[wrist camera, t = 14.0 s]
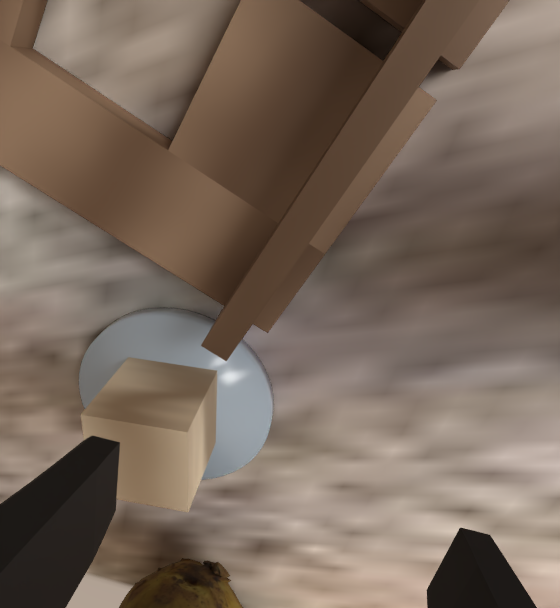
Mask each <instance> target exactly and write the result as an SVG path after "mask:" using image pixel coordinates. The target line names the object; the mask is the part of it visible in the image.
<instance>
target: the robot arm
mask: <svg viewBox="0 0 560 608" xmlns="http://www.w3.org/2000/svg"><path fill="white" fill-rule="evenodd" d="M119 452H120V442H117V441H113V440H109V439H105V438H101V437H97V436H93V435H92V436H90V437H88V438H86V439H85V440H84V441H83V442H81V443H80V444H79V445H78V446H76V447H75V448H74V449H73V450H71V451H70V452H69V453H68V454H66V455H65V456H64V457H63V458H61V459H60V460H59V461H57V462H56V463H55V464H54V465H52V466H51V467H50V468H48V469H47V470H46V471H45V472H43V473H42V474H41V475H39V476H38V477H37V478H35V479H34V480H33V481H31V482H30V483H29V484H27V485H26V486H25V487H23V488H22V489H21V490H19V491H18V492H16V493H15V494H14V495H12V496H11V497H10V498H8V499H7V500H5V501H4V502H3V503H1V504H0V608H65V607H66V606H67V604H68V602H69V601H70V599H71V597H72V596H73V594H74V592H75V590H76V589H77V587H78V585H79V584H80V582H81V580H82V578H83V577H84V575H85V573H86V571H87V570H88V568H89V566H90V564H91V563H92V561H93V559H94V557H95V555H96V553H97V551H98V548H99V546H100V544H101V542H102V540H103V538H104V535H105V533H106V531H107V529H108V526H109V524H110V522H111V520H112V517H113V515H114V513H115V511H116V496H117V481H118V467H119ZM427 605H428V608H537V607H536V606H535V604H534V602H533V601H532V599H531V598H530V596H529V595H528V593H527V592H526V590H525V589H524V587H523V585H522V584H521V582H520V581H519V579H518V578H517V576H516V575H515V573H514V571H513V570H512V568H511V567H510V565H509V564H508V562H507V560H506V559H505V557H504V556H503V554H502V553H501V551H500V550H499V548H498V547H497V545H496V543H495V542H494V540H493V539H492V537H491V536H490V535H488V534H484V533H480V532H476V531H472V530H468V529H464V528H460V529H459V531H458V533H457V535H456V536H455V538H454V540H453V542H452V544H451V546H450V548H449V550H448V551H447V553H446V555H445V557H444V559H443V561H442V563H441V564H440V566H439V568H438V570H437V572H436V574H435V576H434V578H433V579H432V581H431V583H430V585H429V587H428V589H427Z"/></svg>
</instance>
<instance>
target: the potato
mask: <svg viewBox="0 0 560 608" xmlns="http://www.w3.org/2000/svg"><path fill="white" fill-rule="evenodd" d="M203 563H204V565H203V564H201V563H200V562H198V561H195V560H191V559H183V558H182V560H181V561H180V562H177V563H174V564H171V565H169V566H166V567H164V568H158V570H157V571H156V572H154V573H152V574H150V575H148V576H147V577H145V578H143V579H141V580H140V581H139V582H138V583H135V585H134V586H133V588H132V589H131V590H130V591H129V593H128V594H127V595H126V597H125V598H124V600H123V601H122V603H121V605H120V607H119V608H243V607H242V605H241V604H240V602H239V601H238V599H237V597H236V595H235V593H234V592H233V590H232V589H231V587H230V586H229V584H228V582H230V581H231V580H229V579H228V578H227V577H229V576H230V575H229V574H228V572H227V571H226V569H225V568H224V567H223V566H222V565H221V564H220V563H219V562H216V563H213V562H210V561H204V562H203Z"/></svg>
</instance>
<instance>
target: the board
mask: <svg viewBox="0 0 560 608" xmlns="http://www.w3.org/2000/svg"><path fill="white" fill-rule="evenodd" d="M359 1H360V2H361V3H363V4H364V5H366V6H367V7H368V8H370V9H371V10H372V11H374V12H375V13H376V14H378V15H379V16H380V17H382V18H383V19H384V20H386V21H387V22H389V23H390V24H391V25H393V26H394V27H395V28H397V29H398V30H399V31H401V32H402V33H401V35H400V36H399V38H398V39H397V41H396V43H395V44H394V46H393V47H392V49H391V50H390V52H389V53H388V55H387V56H386V58H385V59H384V61H382V60H381V59H380V58H378V57H377V56H375V55H374V54H373V53H371V52H370V51H369V50H367V49H366V48H364V47H363V46H362V45H360V44H359V43H358V42H356V41H355V40H353V39H352V38H351V37H349V36H348V35H347V34H345V33H344V32H342V31H341V30H340V29H338V28H337V27H336V26H334V25H333V24H331V23H330V22H329V21H327V20H326V19H325V18H323V17H322V16H320V15H319V14H318V13H316V12H315V11H314V10H312V9H311V8H309V7H308V6H307V5H305V4H304V3H303V2H301V1H300V0H241V1H240V3H239V5H238V7H237V10H236V12H235V14H234V16H233V18H232V20H231V22H230V24H229V26H228V28H227V30H226V32H225V34H224V36H223V38H222V40H221V42H220V45H219V47H218V49H217V51H216V53H215V55H214V57H213V59H212V61H211V63H210V65H209V67H208V69H207V71H206V73H205V75H204V77H203V80H202V82H201V84H200V86H199V88H198V90H197V92H196V94H195V96H194V98H193V100H192V102H191V104H190V106H189V108H188V110H187V112H186V115H185V117H184V119H183V121H182V123H181V125H180V127H179V129H178V131H177V133H176V135H175V137H174V139H173V141H171V140H170V139H168V138H167V137H165V136H164V135H162V134H161V133H159V132H158V131H156V130H155V129H153V128H152V127H150V126H149V125H147V124H146V123H144V122H143V121H141V120H140V119H138V118H137V117H135V116H134V115H132V114H131V113H129V112H128V111H126V110H125V109H123V108H122V107H120V106H119V105H117V104H116V103H114V102H113V101H111V100H110V99H108V98H107V97H105V96H104V95H102V94H101V93H99V92H98V91H96V90H94V89H93V88H91V87H90V86H88V85H87V84H85V83H84V82H82V81H81V80H79V79H78V78H76V77H75V76H73V75H72V74H70V73H69V72H67V71H66V70H64V69H63V68H61V67H60V66H58V65H57V64H55V63H54V62H52V61H51V60H49V59H48V58H46V57H45V56H43V55H42V54H40V53H39V52H37V51H36V50H34V49H33V45H34V42H35V39H36V36H37V32H38V29H39V26H40V23H41V19H42V16H43V13H44V10H45V7H46V3H47V0H0V166H2V167H4V168H5V169H7V170H8V171H10V172H12V173H13V174H15V175H16V176H18V177H20V178H21V179H23V180H24V181H26V182H28V183H29V184H31V185H32V186H34V187H36V188H37V189H39V190H40V191H42V192H43V193H45V194H47V195H48V196H50V197H51V198H53V199H55V200H56V201H58V202H59V203H61V204H63V205H64V206H66V207H67V208H69V209H71V210H72V211H74V212H75V213H77V214H79V215H80V216H82V217H83V218H85V219H87V220H88V221H90V222H91V223H93V224H95V225H96V226H98V227H99V228H101V229H102V230H104V231H106V232H107V233H109V234H110V235H112V236H114V237H115V238H117V239H118V240H120V241H122V242H123V243H125V244H126V245H128V246H130V247H131V248H133V249H134V250H136V251H138V252H139V253H141V254H142V255H144V256H146V257H147V258H149V259H150V260H152V261H154V262H155V263H157V264H158V265H160V266H161V267H163V268H165V269H166V270H168V271H169V272H171V273H173V274H174V275H176V276H177V277H179V278H181V279H182V280H184V281H185V282H187V283H189V284H190V285H192V286H193V287H195V288H197V289H198V290H200V291H201V292H203V293H205V294H206V295H208V296H209V297H211V298H213V299H214V300H216V301H217V302H219V303H220V304H222V305H224V307H223V309H222V311H221V312H220V314H219V316H218V317H217V319H216V321H215V323H214V324H213V326H212V328H211V329H210V331H209V333H208V334H207V336H206V338H205V339H204V341H203V343H202V344H201V346H202V347H204V348H205V349H207V350H208V351H210V352H212V353H213V354H215V355H217V356H218V357H220V358H222V359H223V360H225V361H227V360H228V358H229V357H230V356H231V354H232V353H233V351H234V350H235V348H236V347H237V346H238V344H239V343H240V341H241V340H242V338H243V337H244V336H245V334H246V333H247V331H248V330H249V328H250V327H251V326H252V324H254V325H256V326H257V327H259V328H260V329H262V330H264V331H265V332H267V333H268V332H269V330H270V329H271V328H272V326H273V325H274V323H275V322H276V321H277V319H278V318H279V317H280V315H281V314H282V312H283V311H284V310H285V308H286V307H287V306H288V304H289V303H290V301H291V300H292V299H293V297H294V296H295V295H296V293H297V292H298V290H299V289H300V288H301V286H302V285H303V284H304V282H305V281H306V279H307V278H308V277H309V275H310V274H311V273H312V271H313V270H314V268H315V267H316V266H317V264H318V263H319V262H320V260H321V259H322V257H323V256H324V255H325V253H326V252H327V251H328V249H329V248H330V246H331V245H332V244H333V242H334V241H335V240H336V238H337V237H338V236H339V234H340V233H341V231H342V230H343V229H344V227H345V226H346V225H347V223H348V222H349V220H350V219H351V218H352V216H353V215H354V214H355V212H356V211H357V209H358V208H359V207H360V205H361V204H362V203H363V201H364V200H365V198H366V197H367V196H368V194H369V193H370V192H371V190H372V189H373V187H374V186H375V185H376V183H377V182H378V181H379V179H380V178H381V176H382V175H383V174H384V172H385V171H386V170H387V168H388V167H389V165H390V164H391V163H392V161H393V160H394V159H395V157H396V156H397V154H398V153H399V152H400V150H401V149H402V148H403V146H404V145H405V143H406V142H407V141H408V139H409V138H410V137H411V135H412V134H413V132H414V131H415V130H416V128H417V127H418V126H419V124H420V123H421V121H422V120H423V119H424V117H425V116H426V115H427V113H428V112H429V110H430V109H431V108H432V106H433V105H434V104H435V102H436V101H437V100H436V99H435V98H433V97H432V96H430V95H429V94H428V93H426V92H425V91H424V90H422V89H421V88H419V86H420V84H421V83H422V81H423V80H424V79H425V77H426V76H427V74H428V73H429V71H430V70H431V69H432V67H433V66H434V64H435V63H436V61H437V60H438V59H439V60H440V61H441V62H443V63H444V64H445V65H447V66H448V67H449V68H451V69H452V70H456V69H460V68H461V67H462V65H463V64H464V62H465V61H466V60H467V58H468V57H469V56H470V54H471V53H472V51H473V50H474V49H475V47H476V46H477V45H478V43H479V42H480V40H481V39H482V38H483V36H484V35H485V34H486V32H487V31H488V29H489V28H490V27H491V25H492V24H493V23H494V21H495V20H496V18H497V17H498V16H499V14H500V13H501V12H502V10H503V9H504V7H505V6H506V5H507V3H508V2H509V1H510V0H359Z"/></svg>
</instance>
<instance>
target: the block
mask: <svg viewBox="0 0 560 608" xmlns="http://www.w3.org/2000/svg"><path fill="white" fill-rule="evenodd" d="M216 412H217V370H210V369H204V368H197V367H190V366H184V365H177V364H170V363H164V362H157V361H150V360H144V359H137V358H131V357H128V358H127V359H126V361H125V362H124V363H123V364H122V365H121V367H120V368H119V369H118V370H117V371H116V373H115V374H114V375H113V376H112V377H111V379H110V380H109V381H108V382H107V383H106V385H105V386H104V387H103V388H102V389H101V391H100V392H99V393H98V394H97V395H96V397H95V398H94V399H93V400H92V401H91V403H90V404H89V405H88V406H87V407H86V409H85V410H84V411H83V412H82V413H81V422H82V430H83V437H84V440H85V439H86V438H88V437H90V436H92V435H93V436H97V437H101V438H105V439H109V440H113V441H117V442H120V452H119V467H118V481H117V496H116V499H118V500H124V501H129V502H134V503H140V504H145V505H151V506H156V507H162V508H167V509H173V510H178V511H184V512H189V509H190V507H191V504H192V502H193V499H194V496H195V494H196V491H197V489H198V486H199V484H200V481H201V479H202V476H203V474H204V471H205V469H206V466H207V464H208V461H209V459H210V456H211V453H212V451H213V448H214V446H215V443H216Z"/></svg>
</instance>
